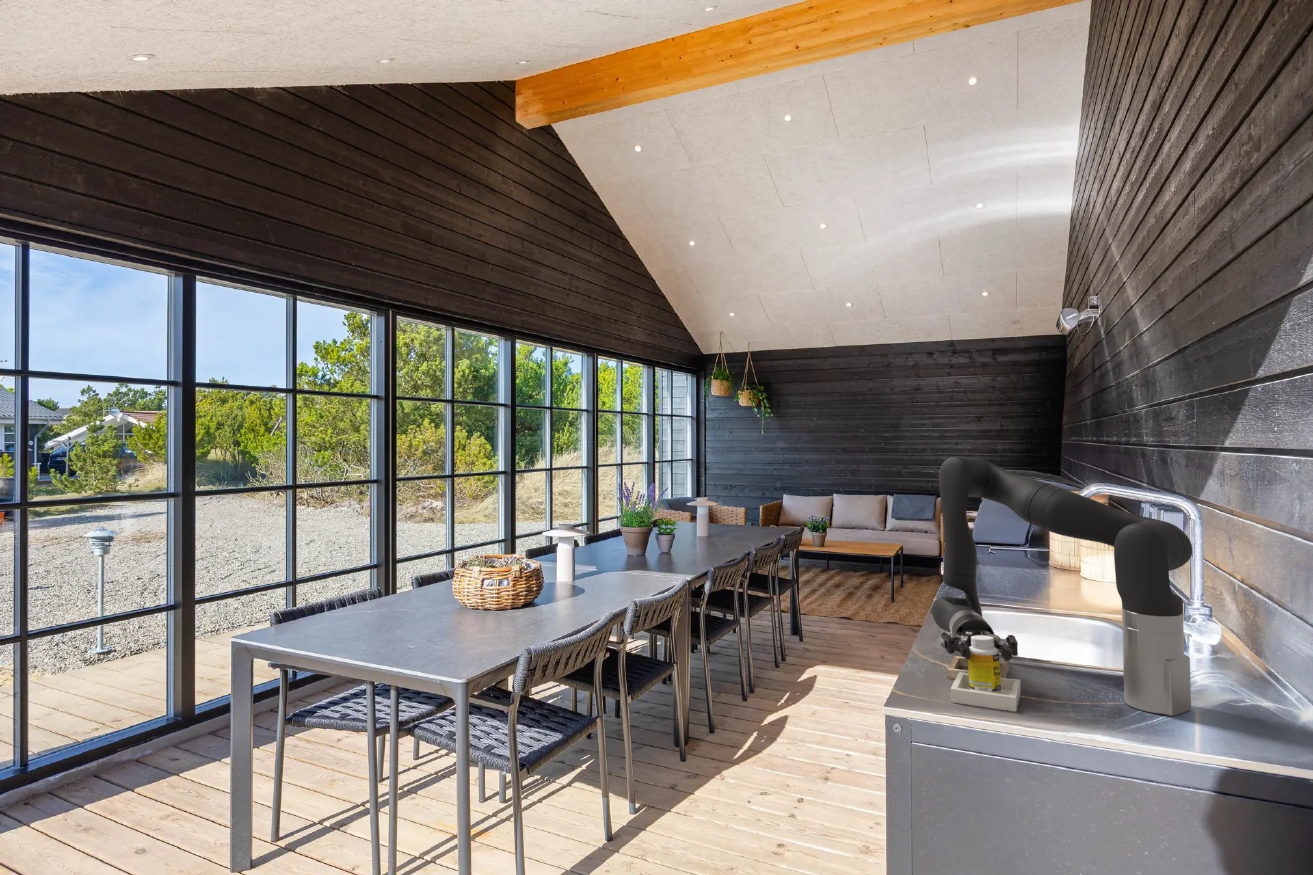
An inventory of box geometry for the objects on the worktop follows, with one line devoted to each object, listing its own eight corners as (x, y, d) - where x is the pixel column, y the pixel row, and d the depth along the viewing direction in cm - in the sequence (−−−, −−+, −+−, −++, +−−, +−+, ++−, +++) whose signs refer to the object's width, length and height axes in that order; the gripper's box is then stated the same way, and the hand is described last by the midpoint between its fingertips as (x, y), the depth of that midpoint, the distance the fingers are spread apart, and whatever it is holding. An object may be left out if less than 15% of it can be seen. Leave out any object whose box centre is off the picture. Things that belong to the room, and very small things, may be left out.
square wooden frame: (1008, 670, 155) (1007, 662, 155) (1003, 685, 146) (1003, 676, 146) (955, 664, 160) (955, 655, 160) (947, 678, 151) (947, 669, 151)
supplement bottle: (999, 697, 136) (995, 641, 137) (967, 693, 139) (963, 638, 140) (1003, 690, 141) (1000, 635, 142) (972, 686, 144) (969, 633, 145)
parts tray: (1020, 692, 142) (1020, 679, 142) (1016, 711, 132) (1015, 697, 132) (959, 684, 147) (959, 671, 147) (950, 702, 138) (950, 688, 138)
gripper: (933, 612, 155) (946, 633, 139) (1007, 614, 152) (1029, 636, 136) (934, 648, 155) (947, 673, 139) (1008, 651, 152) (1030, 677, 136)
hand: (987, 654), depth 138 cm, fingers open, 6 cm apart
